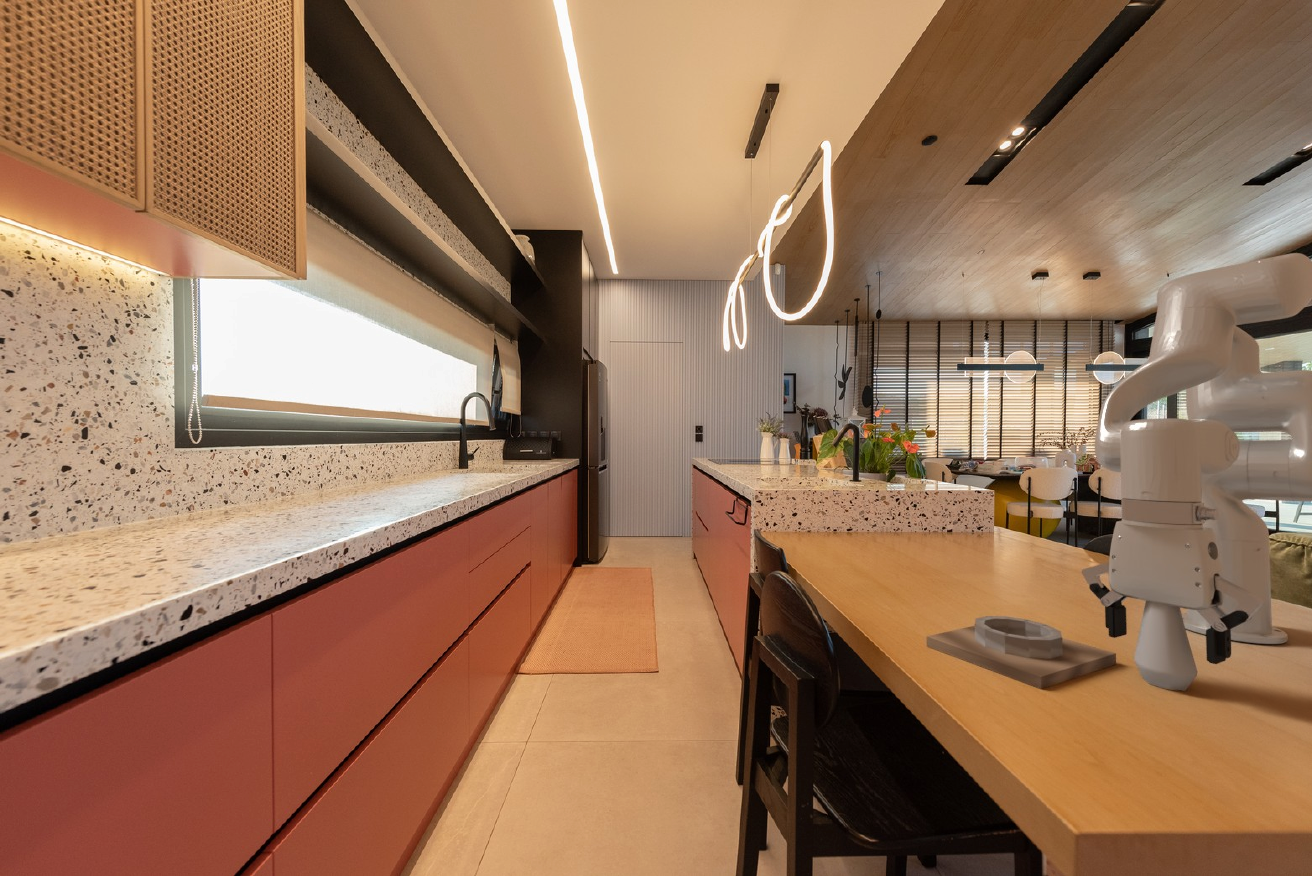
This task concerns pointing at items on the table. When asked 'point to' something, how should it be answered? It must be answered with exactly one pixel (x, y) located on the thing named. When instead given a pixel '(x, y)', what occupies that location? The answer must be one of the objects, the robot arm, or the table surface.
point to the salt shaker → (1164, 648)
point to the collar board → (1022, 665)
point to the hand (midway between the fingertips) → (1164, 647)
